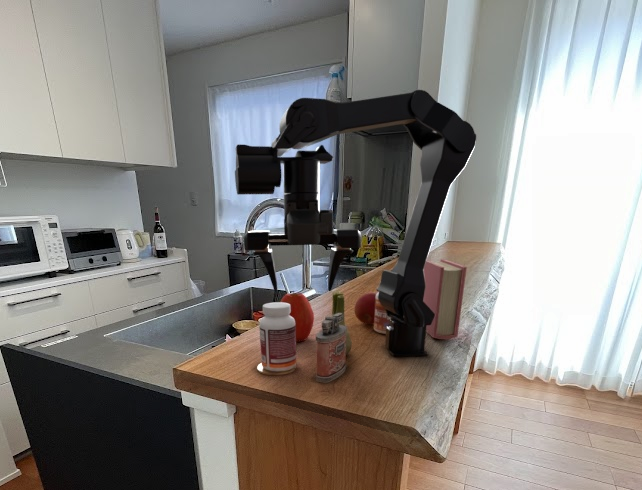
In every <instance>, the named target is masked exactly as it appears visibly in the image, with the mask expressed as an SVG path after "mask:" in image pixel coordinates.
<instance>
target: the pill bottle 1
mask: <svg viewBox="0 0 642 490" xmlns="http://www.w3.org/2000/svg"><path fill="white" fill-rule="evenodd" d="M290 312H291V307H290V304H288V303H284V302H280V301H276V302H267V303H264V304H263V305H262V314H263V315H264V316H263V317H261V319H260V320H259V325H258V326H259V342H260V358H261V361H260V363H262V366H263V368H264V369H266V370H269V371H276V372H280V371H287V370H290V369H292V368H294V367H295V366H297V342H296V327H295V320H294V318H293V317H291V316H290V315H289V314H290Z"/></svg>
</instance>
